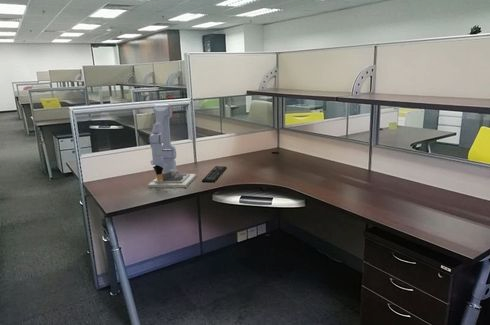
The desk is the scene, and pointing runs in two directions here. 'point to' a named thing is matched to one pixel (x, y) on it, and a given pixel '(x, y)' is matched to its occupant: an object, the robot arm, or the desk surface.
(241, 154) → the desk surface
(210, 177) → the black keyboard
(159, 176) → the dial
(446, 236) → the desk surface
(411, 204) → the desk surface
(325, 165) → the desk surface
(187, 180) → the white base plate
